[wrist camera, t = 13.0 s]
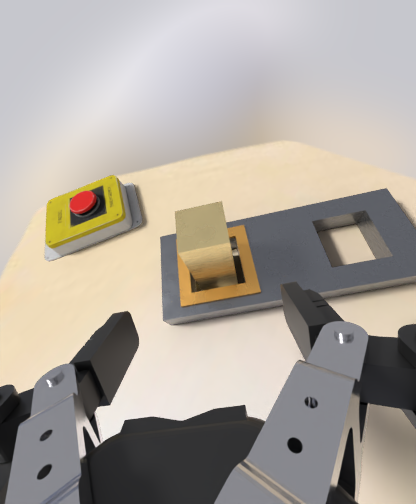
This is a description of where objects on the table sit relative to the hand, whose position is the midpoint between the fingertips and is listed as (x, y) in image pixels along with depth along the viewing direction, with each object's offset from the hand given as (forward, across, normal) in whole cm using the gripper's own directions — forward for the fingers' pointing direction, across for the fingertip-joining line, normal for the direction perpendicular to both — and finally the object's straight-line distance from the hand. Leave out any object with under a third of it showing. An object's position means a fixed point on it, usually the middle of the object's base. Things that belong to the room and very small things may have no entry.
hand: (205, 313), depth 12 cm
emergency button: (+24, +18, -5) cm, 30 cm away
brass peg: (+14, 0, +4) cm, 15 cm away
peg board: (+14, -7, +4) cm, 16 cm away
